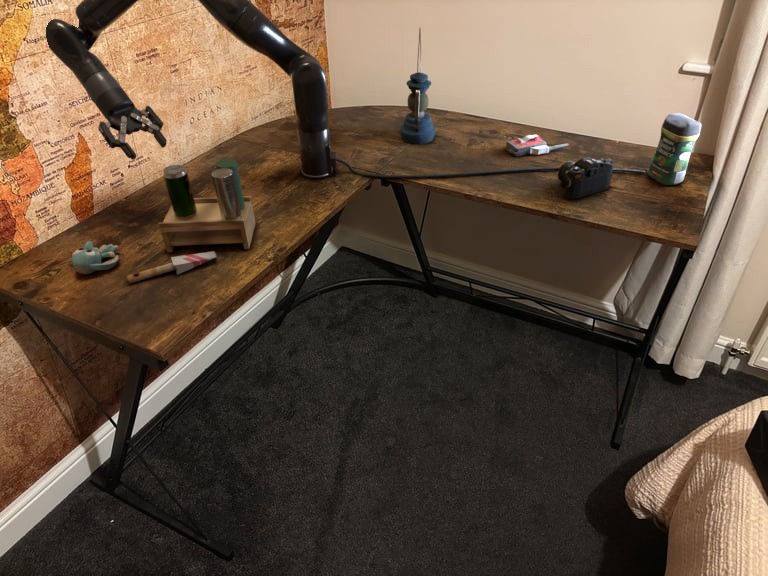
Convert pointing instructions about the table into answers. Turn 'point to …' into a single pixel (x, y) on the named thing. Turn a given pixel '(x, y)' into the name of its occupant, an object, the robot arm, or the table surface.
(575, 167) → the film camera
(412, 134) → the lantern
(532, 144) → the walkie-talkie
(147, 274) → the paintbrush
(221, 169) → the tray
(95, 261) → the stuffed animal
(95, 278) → the table surface
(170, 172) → the beer can
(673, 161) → the coffee jar
